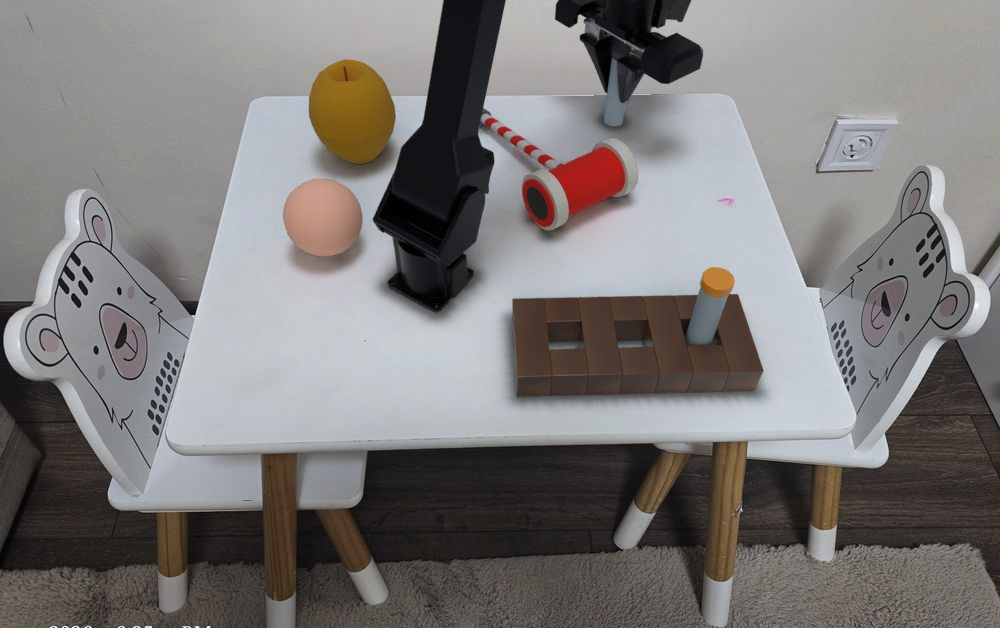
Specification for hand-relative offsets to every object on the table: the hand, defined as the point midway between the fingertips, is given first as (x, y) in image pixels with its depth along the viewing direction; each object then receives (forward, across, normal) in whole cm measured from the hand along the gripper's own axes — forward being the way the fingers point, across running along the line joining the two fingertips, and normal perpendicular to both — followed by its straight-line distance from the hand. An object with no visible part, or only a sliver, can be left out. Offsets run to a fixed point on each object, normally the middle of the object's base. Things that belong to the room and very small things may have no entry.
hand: (616, 96), depth 93 cm
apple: (+4, +14, +29) cm, 32 cm away
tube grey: (+4, 0, 0) cm, 4 cm away
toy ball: (+4, +2, +40) cm, 40 cm away
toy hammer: (+4, -4, +14) cm, 15 cm away
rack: (+4, -28, +25) cm, 38 cm away
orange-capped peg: (+4, -32, +20) cm, 38 cm away
